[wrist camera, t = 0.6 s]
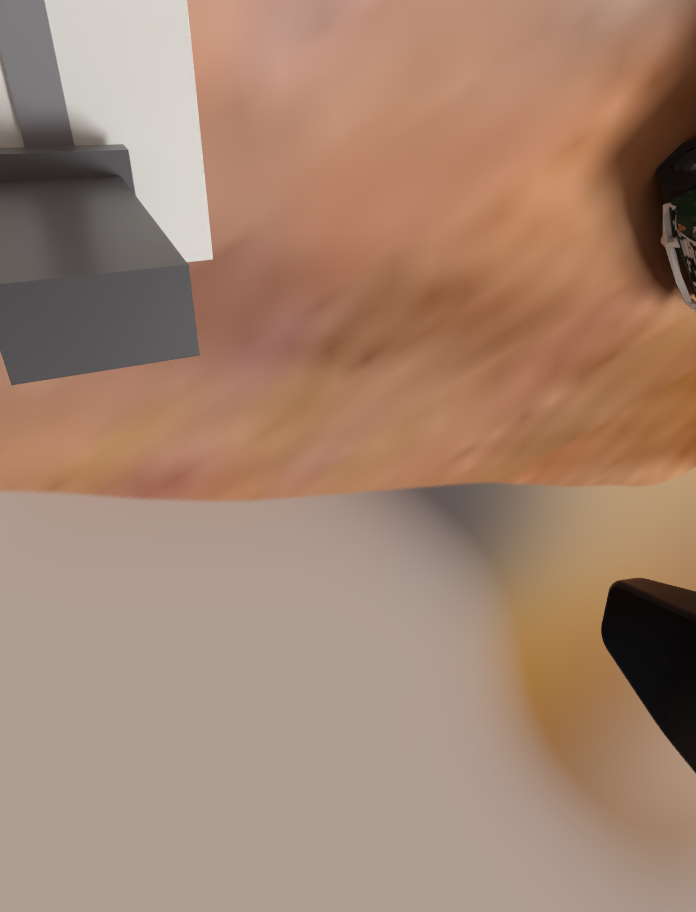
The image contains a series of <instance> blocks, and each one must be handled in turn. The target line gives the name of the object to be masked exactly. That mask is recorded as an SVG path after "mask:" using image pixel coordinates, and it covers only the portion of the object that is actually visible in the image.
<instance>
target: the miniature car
mask: <svg viewBox="0 0 696 912" xmlns="http://www.w3.org/2000/svg"><path fill="white" fill-rule="evenodd" d="M657 173H658V177H659V181H660V185H661V190H662V194H663V198H664V202H666V204H664V205H663V236H661V243H662V244H663V245H664V247H665V248H666V251H667V255H668V258H669V261H670V265H671V268H672V272H673V275H674V278H675V282H676V284H677V286H678V288H679V290H680V292H681V294H682V296H683V299H684V302H685V303H686V304H687V305H688V306H689V307H690V308H692V309H693V310H694V311H695V312H696V302H695V301H694V300H693V299H692V298H691V297H690V295H689V292H688V290H687V287H686V285H685V282H684V280H683V277H682V275H681V271H680V267H679V263H678V259H677V255H676V251H675V247H676V248H678V250H679V253H680V256H681V258H682V261H683V264H684V267H685V269H686V272H687V275H688V278H689V281H690V283H691V286H692V289H693V292H694V294H695V297H696V138H692V139H690V140H688V141H687V142H685V143H684V144H682V145H681V146H679V147H678V148H677V149H676V150H675V151H674V152H673V153H672V154H671V155H670V156H669V157H668V158H667V159H666V160H665V161H664V162H663V163H662V164H661V165H660V166H659V167H658V168H657ZM672 234H673V236H674V237H672Z"/></svg>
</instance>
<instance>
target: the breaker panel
mask: <svg viewBox="0 0 696 912" xmlns="http://www.w3.org/2000/svg"><path fill="white" fill-rule="evenodd" d="M112 144H123V145H124V146H125V147H126V148H127V149H128V151H129V157H130V163H131V169H132V176H133V182H134V188H135V194H136V197H137V198H138V199H139V201H140V202H141V203H142V205H143V206H144V207H145V209H146V210H147V211H148V212H149V214H150V215H151V216H152V218H153V219H154V220H155V222H156V223H157V224H158V226H159V227H160V228H161V229H162V231H163V232H164V233H165V235H166V236H167V237H168V239H169V240H170V241H171V243H172V244H173V245H174V246H175V248H176V249H177V250H178V252H179V253H180V254H181V256H182V257H183V258H184V260H185V261H186V262H192V261H202V260H211V259H213V255H212V245H211V235H210V225H209V215H208V205H207V195H206V185H205V175H204V165H203V155H202V145H201V135H200V125H199V115H198V105H197V95H196V86H195V76H194V66H193V56H192V46H191V36H190V26H189V16H188V6H187V0H0V148H19V147H50V146H81V145H112Z"/></svg>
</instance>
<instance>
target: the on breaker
mask: <svg viewBox="0 0 696 912" xmlns="http://www.w3.org/2000/svg"><path fill="white" fill-rule="evenodd" d="M0 351H1V354H2V357H3V360H4V363H5V366H6V369H7V372H8V376H9V379H10V382H11V385H16V384H22V383H29V382H35V381H41V380H47V379H54V378H60V377H66V376H73V375H79V374H85V373H92V372H98V371H104V370H111V369H117V368H123V367H130V366H136V365H142V364H148V363H155V362H161V361H167V360H174V359H180V358H186V357H193V356H199V347H198V339H197V331H196V323H195V315H194V307H193V298H192V290H191V282H190V274H189V266H188V264H187V262H186V261H185V260H184V258H183V257H182V256H181V254H180V253H179V252H178V250H177V249H176V248H175V246H174V245H173V244H172V243H171V241H170V240H169V239H168V237H167V236H166V235H165V233H164V232H163V231H162V229H161V228H160V227H159V226H158V224H157V223H156V222H155V220H154V219H153V218H152V216H151V215H150V214H149V212H148V211H147V210H146V209H145V207H144V206H143V205H142V203H141V202H140V201H139V199H138V198H137V197H136V194H135V188H134V182H133V176H132V169H131V163H130V157H129V151H128V149H127V148H126V147H125V146H124V145H123V144H112V145H81V146H50V147H19V148H0Z"/></svg>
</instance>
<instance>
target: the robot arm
mask: <svg viewBox="0 0 696 912" xmlns="http://www.w3.org/2000/svg"><path fill="white" fill-rule="evenodd" d="M601 633H602V638H603V641H604V644H605V646H606V648H607V650H608V651H609V653H610V654H611V656H612V658H613V659H614V661H615V662H616V664H617V665H618V667H619V668H620V670H621V671H622V673H623V674H624V676H625V677H626V679H627V680H628V681H629V683H630V685H631V686H632V688H633V689H634V691H635V692H636V694H637V695H638V697H639V698H640V700H641V701H642V703H643V704H644V706H645V707H646V709H647V710H648V712H649V713H650V715H651V716H652V718H653V719H654V720H655V722H656V723H657V725H658V726H659V728H660V729H661V730H662V732H663V733H664V734H665V736H666V737H667V738H668V740H669V741H670V742H671V743H672V745H673V746H674V747H675V748H676V750H677V751H678V752H679V754H680V755H681V756H682V757H683V758H684V760H685V761H686V762H687V763H688V764H689V766H690V767H691V768H692V770H694V772H695V773H696V592H695V591H692V590H688V589H684V588H680V587H676V586H672V585H668V584H664V583H660V582H656V581H653V580H649V579H645V578H632V579H626V580H619V581H616V582H614V583H613V584H612V585H611V587H610V589H609V593H608V597H607V602H606V607H605V612H604V616H603V621H602V627H601Z"/></svg>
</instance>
